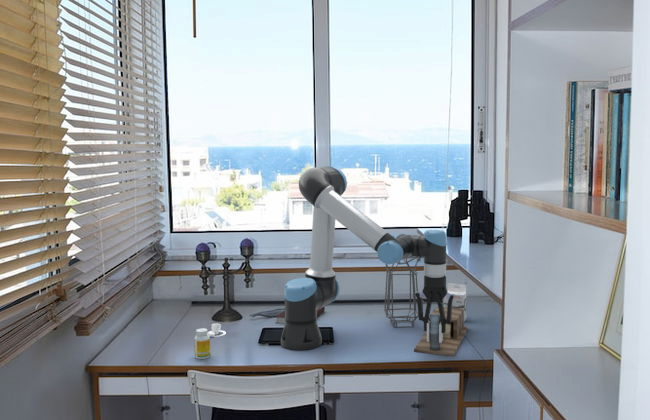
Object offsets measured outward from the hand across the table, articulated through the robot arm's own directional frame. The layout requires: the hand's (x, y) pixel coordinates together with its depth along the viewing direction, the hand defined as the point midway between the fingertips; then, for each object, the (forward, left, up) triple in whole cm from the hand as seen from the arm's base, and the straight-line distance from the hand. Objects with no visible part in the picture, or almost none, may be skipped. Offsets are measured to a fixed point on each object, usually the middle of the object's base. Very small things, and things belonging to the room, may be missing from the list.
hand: (434, 340), depth 211 cm
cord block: (+10, 0, -3) cm, 10 cm away
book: (+24, +62, -5) cm, 67 cm away
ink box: (+41, 0, -4) cm, 41 cm away
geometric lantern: (+28, +19, -4) cm, 34 cm away
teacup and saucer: (-8, +87, -5) cm, 88 cm away
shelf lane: (+14, 0, -4) cm, 15 cm away
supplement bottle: (-31, +75, -4) cm, 81 cm away
